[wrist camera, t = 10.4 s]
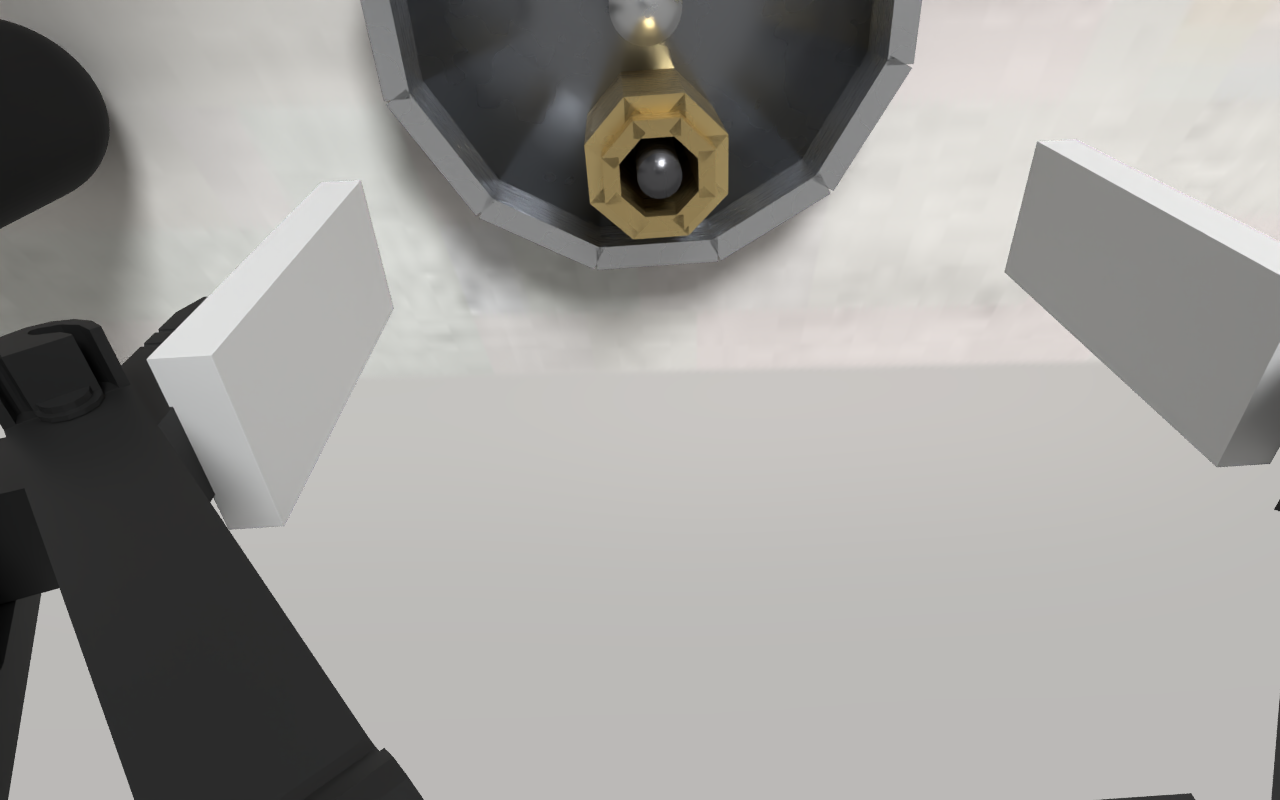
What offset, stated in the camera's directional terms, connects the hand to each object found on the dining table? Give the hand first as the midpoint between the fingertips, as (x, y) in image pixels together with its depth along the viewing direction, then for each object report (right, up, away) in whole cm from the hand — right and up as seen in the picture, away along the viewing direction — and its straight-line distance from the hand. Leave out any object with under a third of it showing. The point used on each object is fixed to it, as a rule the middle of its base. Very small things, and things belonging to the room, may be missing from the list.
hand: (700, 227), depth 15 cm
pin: (-1, +8, +18) cm, 20 cm away
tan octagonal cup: (-1, +8, +17) cm, 18 cm away
